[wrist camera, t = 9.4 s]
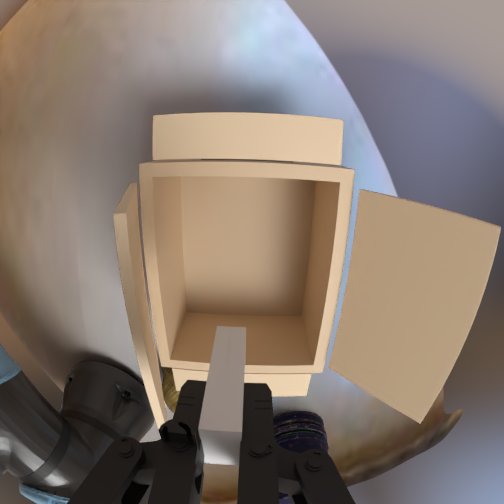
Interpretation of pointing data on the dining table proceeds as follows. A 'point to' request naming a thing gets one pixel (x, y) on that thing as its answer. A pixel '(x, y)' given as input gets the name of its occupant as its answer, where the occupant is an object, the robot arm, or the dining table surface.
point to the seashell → (169, 389)
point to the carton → (245, 240)
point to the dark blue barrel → (299, 435)
